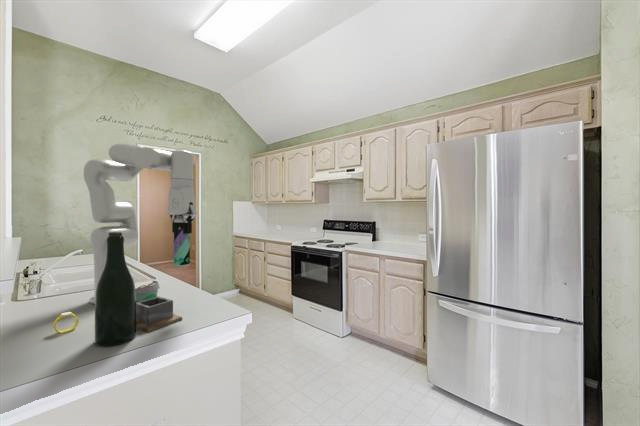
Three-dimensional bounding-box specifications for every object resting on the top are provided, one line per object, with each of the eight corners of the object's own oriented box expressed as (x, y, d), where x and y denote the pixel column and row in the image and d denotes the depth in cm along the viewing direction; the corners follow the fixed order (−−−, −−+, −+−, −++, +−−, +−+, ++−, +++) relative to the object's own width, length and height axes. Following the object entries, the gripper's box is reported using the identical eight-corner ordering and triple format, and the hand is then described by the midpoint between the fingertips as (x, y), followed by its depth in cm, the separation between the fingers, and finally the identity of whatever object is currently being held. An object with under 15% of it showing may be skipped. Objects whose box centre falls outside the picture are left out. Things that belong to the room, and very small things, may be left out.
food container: (142, 316, 104) (142, 290, 104) (128, 315, 106) (128, 288, 105) (166, 305, 117) (166, 281, 116) (153, 304, 118) (153, 280, 118)
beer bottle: (90, 340, 86) (89, 232, 86) (130, 328, 95) (129, 229, 94) (100, 351, 80) (98, 234, 79) (141, 338, 88) (141, 232, 87)
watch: (76, 328, 95) (77, 310, 96) (78, 330, 94) (79, 312, 94) (52, 332, 91) (53, 314, 91) (53, 335, 89) (55, 316, 89)
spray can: (171, 265, 107) (171, 212, 106) (186, 263, 111) (186, 212, 110) (177, 267, 103) (177, 212, 102) (192, 265, 107) (192, 212, 106)
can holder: (125, 323, 99) (125, 303, 99) (159, 312, 109) (159, 294, 109) (148, 332, 92) (147, 311, 92) (182, 319, 102) (182, 300, 102)
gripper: (158, 184, 107) (158, 232, 107) (188, 183, 98) (188, 235, 99) (176, 185, 113) (176, 230, 114) (206, 184, 105) (206, 233, 106)
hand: (182, 232), depth 106 cm, fingers closed on spray can, 5 cm apart
